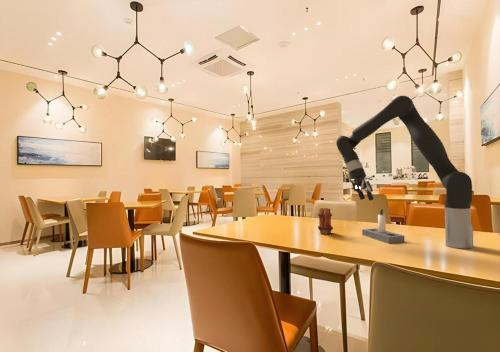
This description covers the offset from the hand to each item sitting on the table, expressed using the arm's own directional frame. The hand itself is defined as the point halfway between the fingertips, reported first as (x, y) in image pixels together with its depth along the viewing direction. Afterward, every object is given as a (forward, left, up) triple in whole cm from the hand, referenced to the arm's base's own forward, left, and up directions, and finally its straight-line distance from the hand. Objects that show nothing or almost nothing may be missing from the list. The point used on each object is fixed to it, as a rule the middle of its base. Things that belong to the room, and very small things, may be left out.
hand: (367, 199), depth 134 cm
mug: (+11, -22, -21) cm, 32 cm away
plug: (-11, -4, -21) cm, 24 cm away
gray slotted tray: (-11, -4, -21) cm, 24 cm away
